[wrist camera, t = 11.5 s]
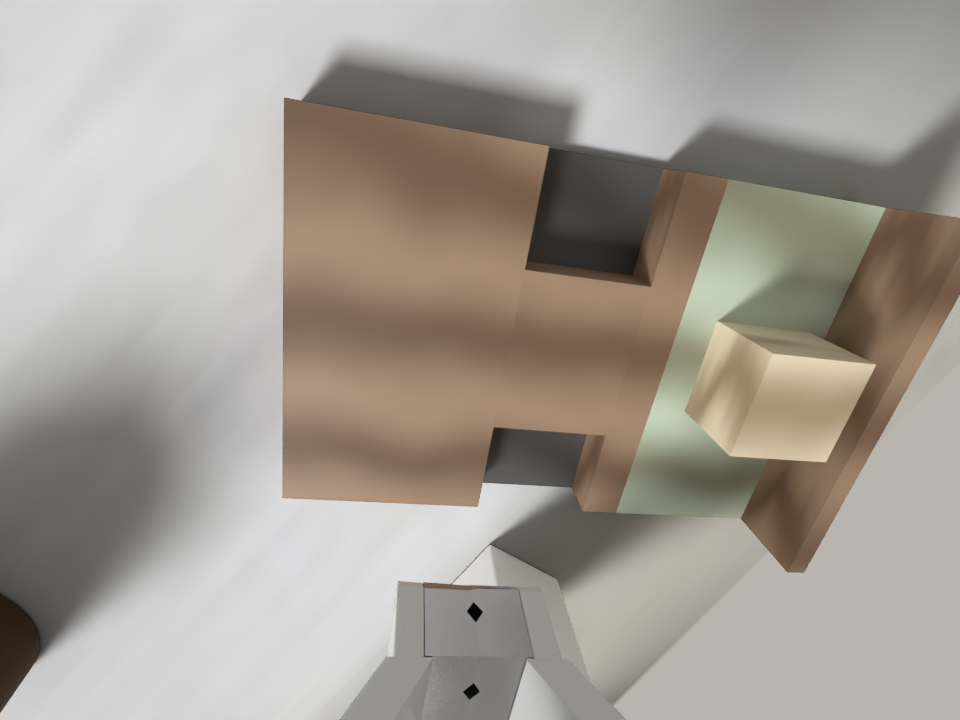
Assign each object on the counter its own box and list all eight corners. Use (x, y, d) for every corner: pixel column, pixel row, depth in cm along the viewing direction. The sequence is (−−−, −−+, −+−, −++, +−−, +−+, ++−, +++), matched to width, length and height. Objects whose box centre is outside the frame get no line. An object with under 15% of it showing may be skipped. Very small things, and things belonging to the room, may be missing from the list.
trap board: (730, 492, 31) (804, 572, 26) (293, 467, 27) (259, 560, 21) (858, 204, 25) (999, 224, 19) (299, 102, 20) (250, 86, 14)
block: (768, 418, 26) (825, 462, 23) (684, 411, 25) (729, 456, 22) (807, 331, 24) (876, 364, 21) (717, 320, 23) (773, 353, 20)
